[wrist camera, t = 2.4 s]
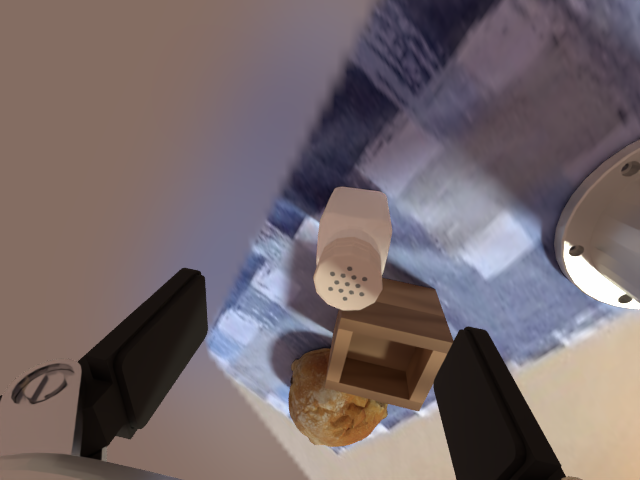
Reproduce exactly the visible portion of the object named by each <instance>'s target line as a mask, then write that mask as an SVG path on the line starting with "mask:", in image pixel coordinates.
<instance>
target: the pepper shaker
mask: <svg viewBox="0 0 640 480" xmlns="http://www.w3.org/2000/svg"><path fill="white" fill-rule="evenodd" d="M391 235H392V226H391V220H390V214H389V208H388V202H387V197H386V194H384V193H382V192H380V191H372V190H365V189H357V188H349V187H337V188H335V189H334V191H333V193H332V195H331V197H330V199H329V201H328V204H327V206H326V208H325V210H324V212H323V215H322V217H321V219H320V225H319V233H318V243H317V256H316V264H317V267H316V270H315V273H314V276H313V279H314V284H315V288H316V292H317V294H318V295H319V296H320V297H321V298H322V299H323V300H324V301H325V302H326V303H327V304H328V305H331V306H333V307H336V308H338V309H341V310H343V311H344V310H361V309H363V308H365V307H367V306H369V305H371V304H373V303H375V301H376V299H377V298H378V296H379V294H380V293H381V291H382V289H383V285H382V274H383V271H384V267H385V263H386V259H387V255H388V250H389V246H390V240H391Z"/></svg>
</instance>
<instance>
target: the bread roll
mask: <svg viewBox="0 0 640 480" xmlns="http://www.w3.org/2000/svg"><path fill="white" fill-rule="evenodd" d="M330 350H331V349H329V348H322V349H319V350H314V351H310V352H308V353H305V354H304V355H303V356H302V357H301V358H300V359H295V361H294V362H293V363H292V365H291V370H292V371H293V376H292V378H291V386H290V392H289V411H290V416H291V418H292V420H293V422H294V423H295V425H296V427H297V428H298V429H299V431H300V432H301V433H302V434H304V435H305V436H307V437H308V438H309V440H310V442H312V443H313V444H314V445H326V446H330V447H338V446H345V445H350V444H353V443H355V442H357V441H360V440H362V439H364V438H366V437H367V436H368V435H369V434H371V432H372V431H373V429H374V428H375V427H376V426H377V424H378V423H380V421H381V420H382V419H384V418H386V417H387V415H388V413H387V405H388V404H387V403H383V402H379V401H375V400H371V399H367V398H363V397H359V396H355V395H351V394H347V393H343V392H339V391H335V390H331V389H327V388H324V387H325V380H326V374H327V368H328V362H329V356H330Z"/></svg>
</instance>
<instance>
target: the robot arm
mask: <svg viewBox="0 0 640 480" xmlns="http://www.w3.org/2000/svg"><path fill="white" fill-rule="evenodd" d="M554 248H555V255H556V260H557V262H558V264H559V266H560V269H561V271H562V272H563V273H564V274H565V276H566V277H567V278H568V279H569V280H570V282H572V283H573V284H574V285H575V286H576V287H578V288H579V289H580V290H581V291H582V292H583V293H585V294H587V295H588V296H590V297H592V298H594V299H595V300H598V301H600V302H603V303H606V304H609V305H612V306H618V307H624V308H629V309H640V139H639V140H637V141H636V142H634V143H632V144H630V145H628V146H626V147H625V148H623V149H622V150H620V151H619V152H618V153H616V154H615V155H613V156H612V157H610V158H609V159H607V160H606V161H605V162H603V163H602V164H601V165H600V166H599V167H598V168H597V169H596V170H595V171H593V172H592V173H591V174H590V175H589V176H588V177H587V178H586V179H585V180H584V181H583V182H582V184H581V185H580V186H579V187H578V188H577V190H576V191H575V192H574V193H573V194H572V196H571V198H570V199H569V201H568V203H567V204H566V206H565V208H564V209H563V211H562V213H561V216H560V219H559V221H558V224H557V227H556V232H555V240H554ZM207 331H208V323H207V306H206V288H205V277H204V276H202V275H201V272H200V271H198V270H193V269H188V268H182V269H181V270H180V271H179V272H177V273H176V274H175V275H174V276H173V277H172V278H171V279H170V280H168V281H167V282H166V283H165V284H164V285H163V286H162V287H161V288H160V289H158V290H157V291H156V292H155V293H154V294H153V295H152V296H151V297H150V298H148V299H147V300H146V301H145V302H144V303H143V304H141V305H140V306H139V307H138V308H137V309H136V310H135V311H134V312H133V313H131V314H130V315H129V316H128V317H127V318H126V319H125V320H124V321H122V322H121V323H120V324H119V325H118V326H117V327H116V328H115V329H114V330H112V331H111V332H110V333H109V334H108V335H107V336H106V337H105V338H104V339H103V340H101V341H100V342H99V343H98V344H97V345H96V346H95V347H93V349H91V350H90V351H89V352H88V353H87V354H86V355H85V356H84V357H82V358H81V359H80V360H79V361H78V362H77V361H74V360H72V359H55V360H50V361H47V362H44V363H41V364H38V365H36V366H34V367H32V368H31V369H29V370H27V371H25V372H24V373H22V374H21V375H20V376H18V377H17V378H15V379H14V380H13V381H12V383H11V384H10V385H9V386H8V387H7V389H6V390H5V392H4V393H3V395H1V396H0V480H181V479H178V478H174V477H170V476H166V475H161V474H158V473H154V472H150V471H145V470H141V469H136V468H132V467H127V466H123V465H118V464H114V463H110V462H106V459H107V446H108V445H109V444H110V442H111V441H112V440H113V438H114V437H115V436H119V437H123V438H127V439H131V438H132V437H133V435H134V434H135V432H136V431H137V429H142V428H143V427H144V426H145V425H146V424H147V423H148V421H149V420H150V418H151V417H152V415H153V414H154V412H155V411H156V409H157V408H158V406H159V405H160V404H161V402H162V400H163V399H164V397H165V396H166V394H167V393H168V392H169V390H170V389H171V387H172V386H173V384H174V383H175V381H176V380H177V379H178V377H179V375H180V374H181V373H182V371H183V370H184V368H185V367H186V365H187V364H188V362H189V361H190V359H191V358H192V356H193V355H194V353H195V352H196V350H197V349H198V348H199V346H200V345H201V343H202V342H203V340H204V339H205V337H206V335H207ZM434 392H435V396H436V400H437V404H438V408H439V412H440V416H441V420H442V424H443V428H444V432H445V436H446V440H447V444H448V448H449V452H450V456H451V460H452V464H453V468H454V471H455V475H456V479H457V480H582V479H580V478H577V477H570V476H568V477H566V476H565V474H564V472H563V470H562V468H561V464H560V462H559V461H558V459H557V457H556V455H555V453H554V452H553V450H552V448H551V446H550V444H549V442H548V441H547V439H546V437H545V435H544V433H543V432H542V430H541V428H540V426H539V424H538V423H537V421H536V419H535V417H534V415H533V414H532V412H531V410H530V408H529V406H528V404H527V403H526V401H525V399H524V397H523V395H522V394H521V392H520V390H519V388H518V386H517V385H516V383H515V381H514V379H513V377H512V376H511V374H510V372H509V370H508V368H507V366H506V365H505V363H504V361H503V359H502V357H501V356H500V354H499V352H498V350H497V348H496V347H495V345H494V343H493V341H492V339H491V338H490V336H489V334H488V332H487V331H485V330H483V329H478V328H473V327H466V328H465V329H464V330H459V332H458V334H457V336H456V338H455V340H454V342H453V344H452V345H451V347H450V349H449V351H448V353H447V355H446V357H445V359H444V361H443V363H442V365H441V367H440V369H439V371H438V373H437V375H436V377H435V379H434Z"/></svg>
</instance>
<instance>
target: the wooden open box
mask: <svg viewBox="0 0 640 480" xmlns="http://www.w3.org/2000/svg"><path fill="white" fill-rule="evenodd" d="M382 285H383V289H382V291H381V293H380V294H379V296H378V298H377V299H376V301H375V303H373V304H371V305H369V306H367V307H365V308H363V309H361V310H344V311H343V310H341V309H339V310H338V314H337V319H336V323H335V328H334V332H333V338H332V344H331V350H330V356H329V362H328V368H327V374H326V380H325V387H324V388H327V389H331V390H335V391H339V392H343V393H347V394H351V395H355V396H359V397H363V398H367V399H371V400H375V401H379V402H383V403H387V404H391V405H395V406H399V407H403V408H407V409H411V410H415V411H419V410H420V408H421V406H422V404H423V402H424V400H425V398H426V397H427V395H428V393H429V391H430V389H431V387H432V385H433V383H434V379H435V377H436V375H437V373H438V371H439V369H440V367H441V365H442V363H443V361H444V359H445V357H446V355H447V353H448V351H449V349H450V347H451V345H452V344H453V342H454V341H453V338H452V335H451V333H450V330H449V327H448V324H447V321H446V318H445V316H444V313H443V310H442V307H441V304H440V301H439V298H438V296H437V293H436V290H435V289H432V288H427V287H423V286H418V285H413V284H409V283H404V282H399V281H395V280H390V279H385V278H382Z"/></svg>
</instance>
